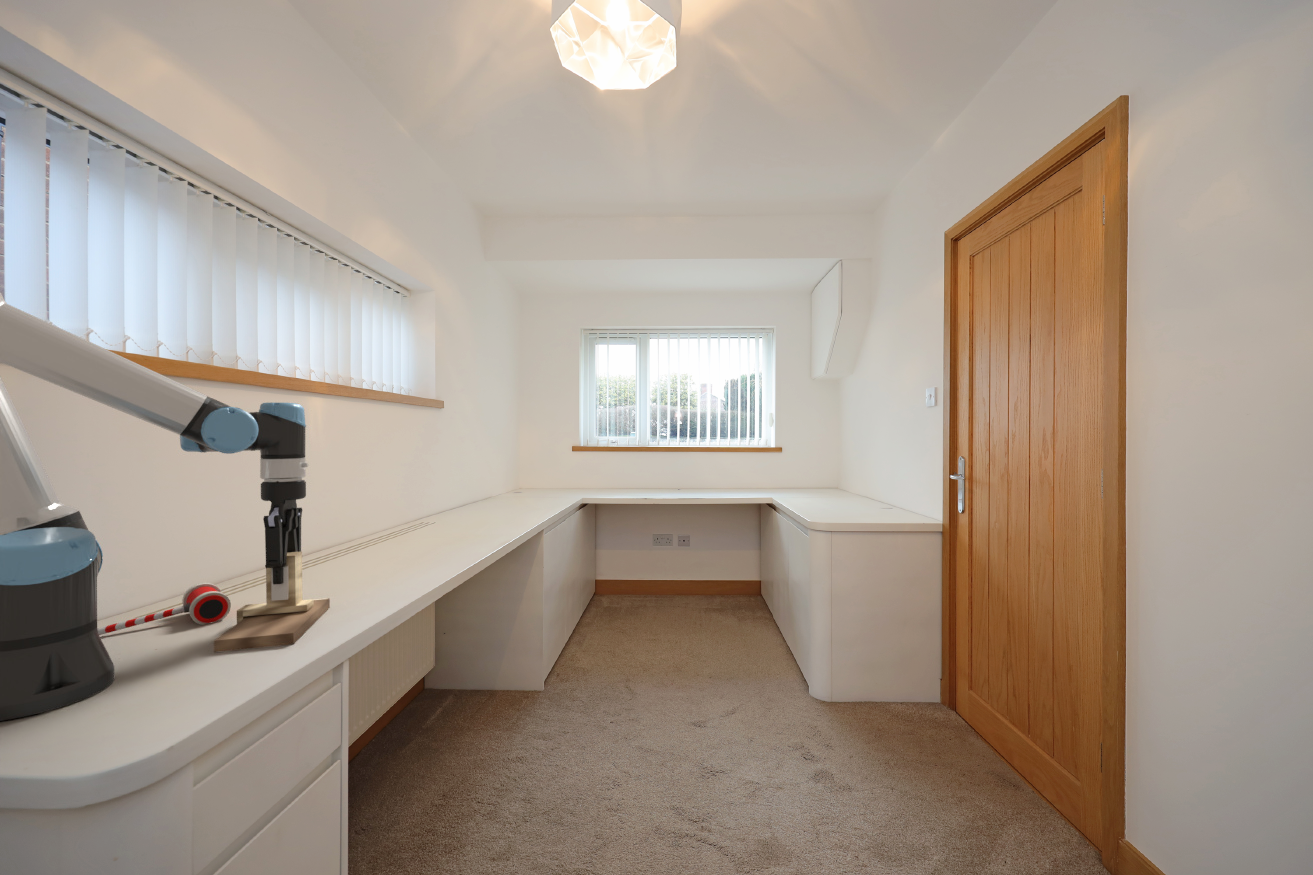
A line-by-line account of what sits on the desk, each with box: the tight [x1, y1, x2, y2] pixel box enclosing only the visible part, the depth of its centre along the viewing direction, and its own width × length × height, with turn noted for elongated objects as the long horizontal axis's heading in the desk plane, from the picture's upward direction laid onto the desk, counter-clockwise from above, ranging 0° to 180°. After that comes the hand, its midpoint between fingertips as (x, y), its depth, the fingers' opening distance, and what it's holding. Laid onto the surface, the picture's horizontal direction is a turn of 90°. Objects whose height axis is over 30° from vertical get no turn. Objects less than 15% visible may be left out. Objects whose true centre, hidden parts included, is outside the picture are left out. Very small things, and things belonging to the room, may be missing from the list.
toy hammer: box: [97, 582, 232, 636], centre depth 108 cm, size 23×12×6 cm, turn 137°
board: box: [213, 598, 331, 653], centre depth 107 cm, size 12×22×2 cm, turn 16°
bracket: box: [236, 551, 314, 624], centre depth 110 cm, size 12×4×13 cm, turn 106°
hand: (284, 595), depth 110 cm, fingers closed on bracket, 4 cm apart
